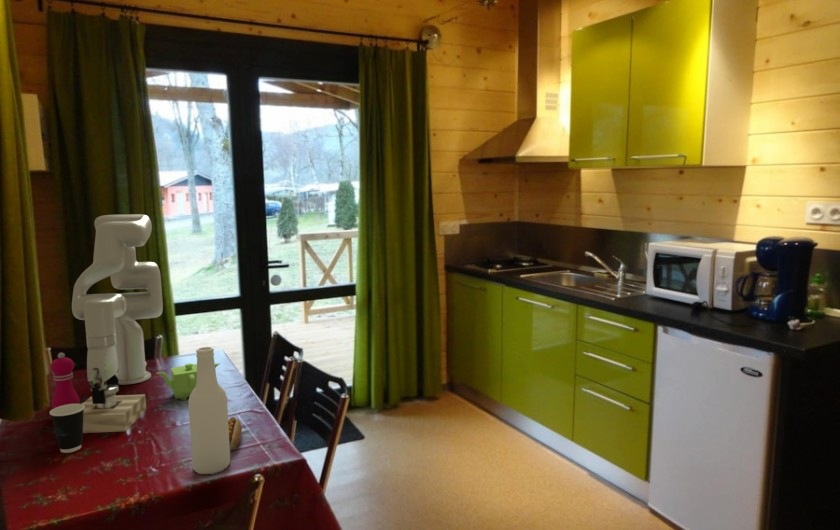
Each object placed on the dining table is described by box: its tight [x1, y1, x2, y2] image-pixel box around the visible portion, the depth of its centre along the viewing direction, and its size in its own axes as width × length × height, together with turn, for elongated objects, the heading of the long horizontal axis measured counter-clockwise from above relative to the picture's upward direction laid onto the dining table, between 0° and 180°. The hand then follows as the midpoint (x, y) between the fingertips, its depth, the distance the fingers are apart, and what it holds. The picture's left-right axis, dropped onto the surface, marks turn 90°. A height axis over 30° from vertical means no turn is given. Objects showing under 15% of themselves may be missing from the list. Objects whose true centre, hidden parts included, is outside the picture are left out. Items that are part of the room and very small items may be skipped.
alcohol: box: [188, 346, 231, 475], centre depth 140 cm, size 9×9×30 cm
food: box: [228, 417, 243, 452], centre depth 156 cm, size 14×6×5 cm, turn 13°
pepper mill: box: [50, 352, 81, 409], centre depth 173 cm, size 7×7×20 cm
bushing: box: [97, 384, 120, 409], centre depth 170 cm, size 7×7×10 cm
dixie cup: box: [49, 403, 85, 454], centre depth 152 cm, size 8×8×11 cm
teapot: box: [156, 362, 221, 401], centre depth 192 cm, size 15×13×11 cm
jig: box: [81, 393, 147, 434], centre depth 170 cm, size 16×16×5 cm
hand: (106, 397), depth 170 cm, fingers open, 9 cm apart
